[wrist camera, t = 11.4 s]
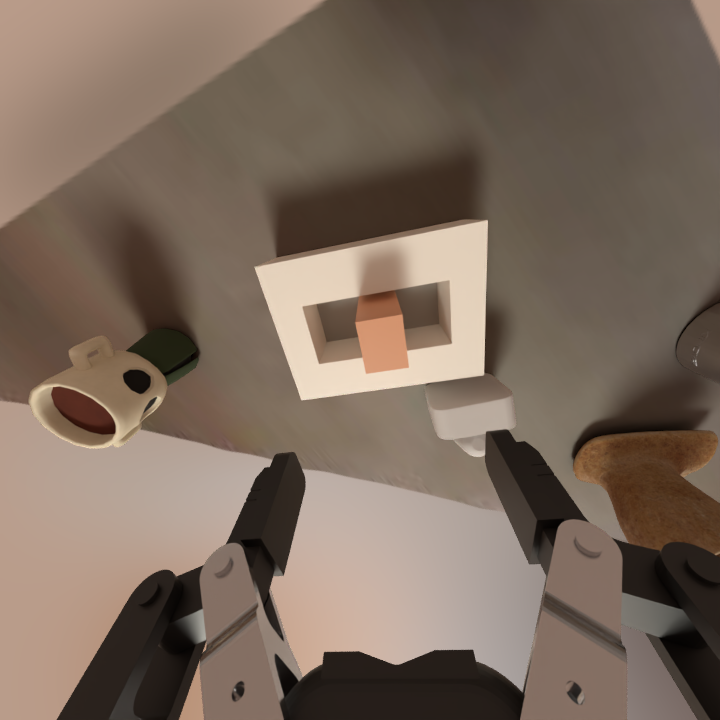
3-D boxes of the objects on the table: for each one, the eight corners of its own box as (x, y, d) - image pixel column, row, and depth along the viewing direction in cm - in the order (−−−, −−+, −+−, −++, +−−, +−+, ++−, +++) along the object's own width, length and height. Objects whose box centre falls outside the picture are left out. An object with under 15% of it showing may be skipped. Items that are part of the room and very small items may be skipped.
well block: (463, 219, 26) (487, 220, 21) (465, 349, 32) (483, 375, 27) (276, 257, 28) (254, 267, 23) (312, 372, 35) (301, 400, 29)
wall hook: (435, 446, 39) (451, 497, 29) (420, 379, 37) (432, 412, 27) (493, 436, 38) (530, 486, 28) (482, 366, 36) (517, 395, 26)
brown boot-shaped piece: (557, 483, 43) (641, 604, 29) (579, 425, 37) (695, 540, 24) (661, 480, 42) (797, 604, 28) (699, 420, 36) (890, 538, 23)
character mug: (211, 388, 36) (138, 468, 25) (158, 383, 36) (60, 461, 25) (195, 309, 31) (94, 364, 20) (133, 304, 31) (-5, 355, 20)
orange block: (392, 283, 29) (402, 314, 20) (397, 323, 31) (409, 367, 22) (359, 289, 29) (355, 322, 20) (367, 328, 31) (365, 373, 22)
